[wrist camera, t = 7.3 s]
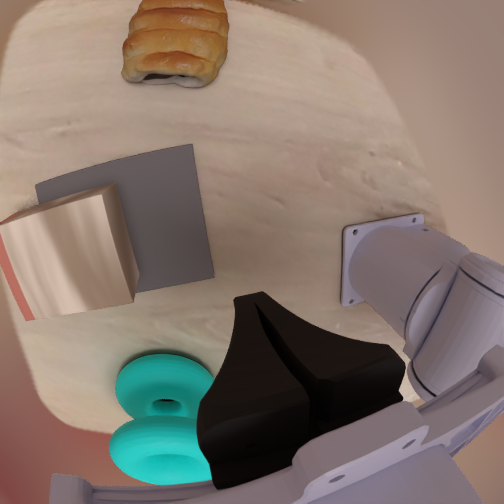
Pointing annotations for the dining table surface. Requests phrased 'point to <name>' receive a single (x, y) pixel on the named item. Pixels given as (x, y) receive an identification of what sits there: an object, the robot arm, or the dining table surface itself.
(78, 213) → the block
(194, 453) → the donuts
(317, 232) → the dining table surface
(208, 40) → the pastry
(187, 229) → the mat
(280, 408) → the robot arm
